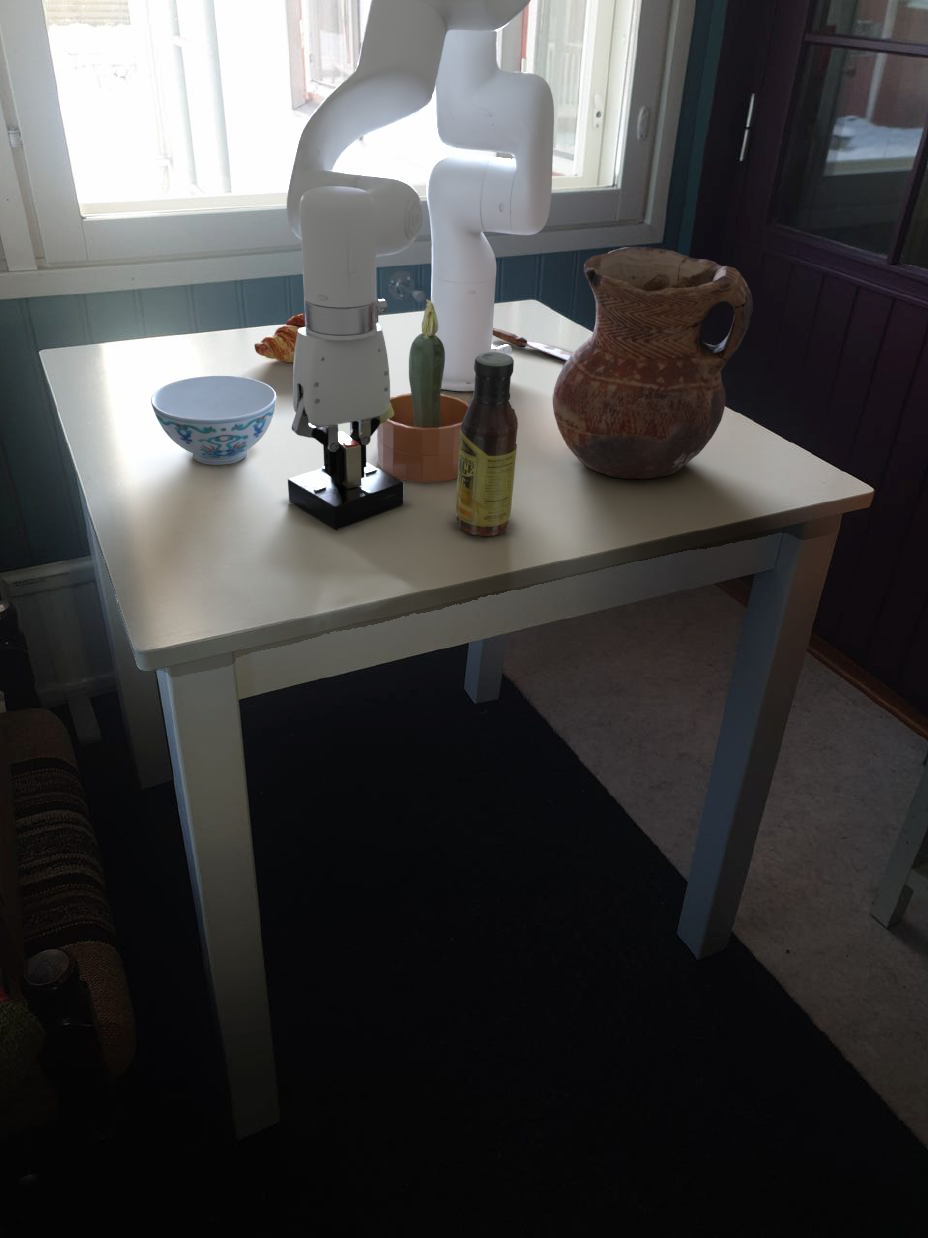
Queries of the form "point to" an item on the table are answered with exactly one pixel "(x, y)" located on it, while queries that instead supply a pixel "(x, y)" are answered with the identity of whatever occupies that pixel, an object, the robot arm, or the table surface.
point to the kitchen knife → (530, 344)
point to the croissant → (282, 341)
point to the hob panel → (345, 496)
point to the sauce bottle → (487, 449)
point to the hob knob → (351, 461)
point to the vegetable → (427, 372)
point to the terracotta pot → (421, 442)
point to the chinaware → (215, 415)
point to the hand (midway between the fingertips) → (345, 475)
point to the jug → (649, 362)
